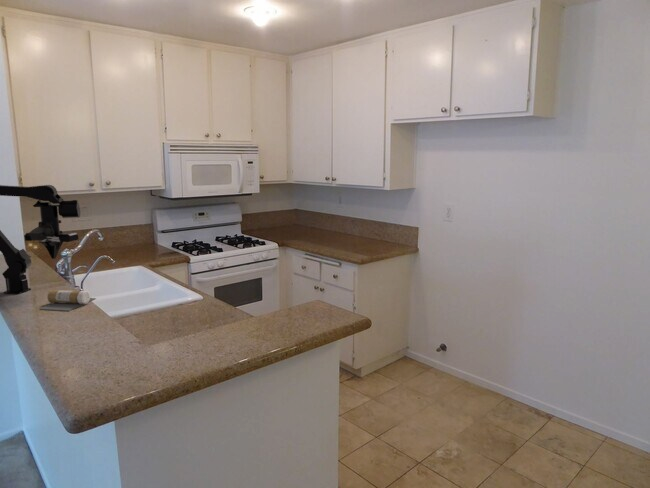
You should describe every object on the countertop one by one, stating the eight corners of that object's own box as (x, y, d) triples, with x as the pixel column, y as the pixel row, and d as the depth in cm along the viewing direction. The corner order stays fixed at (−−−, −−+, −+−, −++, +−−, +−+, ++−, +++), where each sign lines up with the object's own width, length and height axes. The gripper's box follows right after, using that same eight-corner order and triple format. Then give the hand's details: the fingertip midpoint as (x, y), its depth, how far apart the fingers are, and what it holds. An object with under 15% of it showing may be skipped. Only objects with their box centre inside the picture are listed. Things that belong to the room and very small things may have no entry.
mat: (39, 309, 156) (39, 308, 156) (68, 297, 169) (68, 296, 169) (69, 311, 154) (69, 310, 154) (95, 299, 168) (95, 298, 168)
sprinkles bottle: (52, 305, 163) (87, 306, 161) (44, 298, 159) (80, 299, 157) (57, 293, 166) (92, 295, 164) (50, 287, 162) (85, 288, 160)
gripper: (10, 220, 170) (15, 262, 172) (56, 221, 167) (61, 264, 170) (34, 216, 180) (38, 256, 183) (77, 218, 178) (81, 257, 180)
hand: (53, 258), depth 179 cm, fingers closed
